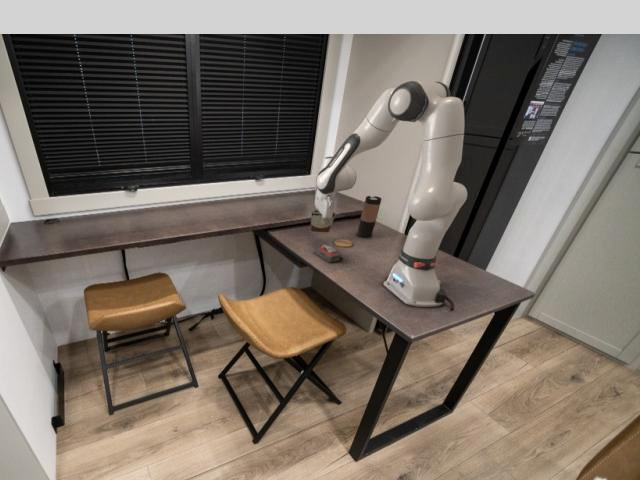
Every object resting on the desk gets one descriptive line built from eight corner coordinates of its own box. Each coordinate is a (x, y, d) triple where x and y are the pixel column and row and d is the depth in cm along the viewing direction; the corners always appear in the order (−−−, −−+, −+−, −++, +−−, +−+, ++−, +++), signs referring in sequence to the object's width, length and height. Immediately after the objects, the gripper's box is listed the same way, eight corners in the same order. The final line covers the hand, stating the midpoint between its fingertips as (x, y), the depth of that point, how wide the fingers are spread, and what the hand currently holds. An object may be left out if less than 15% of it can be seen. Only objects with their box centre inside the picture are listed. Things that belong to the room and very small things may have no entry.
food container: (330, 228, 160) (334, 209, 154) (332, 233, 155) (336, 213, 149) (306, 227, 161) (309, 208, 155) (307, 231, 156) (310, 212, 150)
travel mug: (366, 239, 162) (376, 200, 151) (353, 234, 168) (362, 197, 156) (374, 236, 166) (384, 198, 155) (362, 231, 171) (371, 194, 160)
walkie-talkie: (346, 261, 141) (320, 244, 156) (348, 252, 138) (322, 236, 153) (330, 264, 138) (305, 246, 153) (332, 255, 135) (307, 238, 150)
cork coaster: (354, 247, 154) (355, 246, 153) (337, 247, 153) (337, 246, 153) (349, 240, 161) (349, 239, 161) (331, 239, 161) (332, 239, 161)
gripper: (339, 199, 138) (333, 228, 146) (326, 187, 155) (322, 214, 163) (325, 199, 138) (320, 228, 146) (314, 187, 155) (310, 214, 163)
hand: (321, 221), depth 154 cm, fingers closed on food container, 5 cm apart
